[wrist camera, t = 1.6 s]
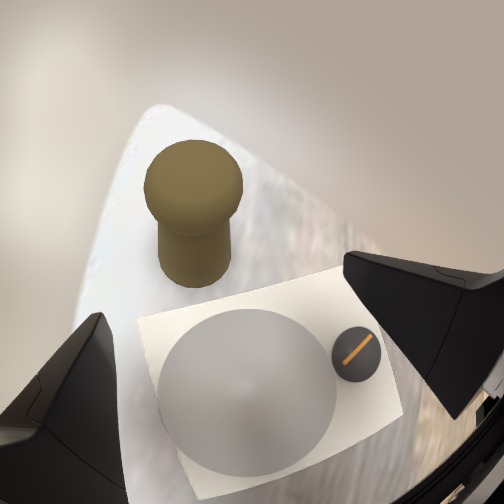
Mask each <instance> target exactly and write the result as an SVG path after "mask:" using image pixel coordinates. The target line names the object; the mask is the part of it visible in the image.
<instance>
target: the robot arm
mask: <svg viewBox="0 0 504 504" xmlns="http://www.w3.org/2000/svg"><path fill="white" fill-rule="evenodd" d="M343 276H344V278H345V280H346V281H347V282H348V284H349V285H350V287H351V288H352V289H353V291H354V292H355V294H356V295H357V297H358V298H359V300H360V301H361V302H362V304H363V305H364V306H365V308H366V309H367V310H368V311H369V312H370V313H371V315H372V316H373V317H374V318H375V319H376V321H377V322H378V323H379V324H380V325H381V327H382V328H383V329H384V330H385V331H386V333H387V334H388V335H389V336H390V338H391V339H392V340H393V341H394V342H395V344H396V345H397V346H398V347H399V349H400V350H401V351H402V352H403V354H404V355H405V356H406V357H407V359H408V360H409V361H410V362H411V364H412V365H413V366H414V368H415V369H416V370H417V371H418V373H419V374H420V375H421V377H422V378H423V379H424V380H425V382H426V383H427V385H428V386H429V387H430V389H431V390H432V391H433V393H434V394H435V395H436V397H437V398H438V399H439V401H440V402H441V403H442V405H443V406H444V407H445V409H446V410H447V412H448V413H449V414H450V416H451V417H452V418H453V419H454V420H456V419H457V418H458V417H459V416H460V415H461V414H462V413H463V412H464V411H465V410H466V409H467V408H468V406H469V405H470V404H471V403H472V402H473V401H474V400H475V399H476V398H477V397H478V396H479V394H480V393H481V392H482V391H483V390H484V391H485V392H486V393H487V394H488V395H489V396H488V397H487V398H486V400H485V401H484V402H483V403H482V405H481V406H480V407H479V408H478V410H477V411H476V429H475V430H474V431H473V432H472V433H471V434H470V435H469V437H468V438H467V439H466V440H465V441H464V442H463V443H462V444H461V445H460V446H459V447H458V448H457V449H456V450H455V451H454V452H453V453H452V454H451V455H450V456H449V457H448V458H447V459H446V460H444V461H443V462H442V463H441V464H440V465H439V466H438V467H437V468H435V469H434V470H433V471H432V472H431V473H430V474H428V475H427V476H426V477H425V478H424V479H422V480H421V481H420V482H419V483H417V484H416V485H415V486H413V487H412V488H411V489H410V490H408V491H407V492H405V493H404V494H403V495H401V496H400V497H398V498H397V499H396V500H394V501H393V502H391V503H390V504H440V503H441V502H442V501H443V500H444V499H445V498H446V497H448V496H449V495H450V494H451V493H452V492H453V491H454V490H455V489H456V488H457V487H458V486H459V485H460V484H462V485H463V486H464V487H465V488H463V489H462V490H461V491H459V492H458V493H457V494H456V495H455V496H456V498H455V499H454V500H453V501H451V502H450V503H448V504H504V269H503V270H502V271H499V272H497V273H494V274H483V273H476V272H470V271H463V270H457V269H451V268H445V267H440V266H434V265H429V264H424V263H419V262H414V261H408V260H403V259H398V258H392V257H387V256H381V255H376V254H370V253H365V252H359V251H351V252H347V253H345V255H344V261H343ZM0 504H129V502H128V497H127V492H126V487H125V481H124V474H123V467H122V459H121V451H120V441H119V428H118V412H117V377H116V365H115V356H114V345H113V335H112V332H111V329H110V327H109V325H108V323H107V320H106V318H105V316H104V314H103V313H102V312H98V313H93V314H91V315H90V316H89V317H88V318H87V319H86V320H85V321H84V322H83V323H82V324H81V325H80V326H79V327H78V328H77V329H76V330H75V332H74V333H73V334H72V335H71V336H70V337H69V338H68V339H67V340H66V341H65V342H64V343H63V345H62V346H61V347H60V348H59V349H58V350H57V351H56V352H55V354H54V355H53V356H52V357H51V358H50V359H49V360H48V361H47V362H46V364H45V365H44V366H43V367H42V368H41V369H40V371H39V372H38V374H37V375H35V376H34V378H33V379H32V380H31V381H30V383H29V384H28V385H27V386H26V387H25V388H24V389H23V391H22V392H21V393H20V394H19V395H18V396H17V397H16V398H15V399H14V400H13V401H12V403H11V404H10V405H9V406H8V407H7V408H6V409H5V410H4V411H3V412H2V413H1V414H0Z"/></svg>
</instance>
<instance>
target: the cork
mask: <svg viewBox="0 0 504 504" xmlns="http://www.w3.org/2000/svg"><path fill="white" fill-rule="evenodd" d="M144 194H145V199H146V203H147V207H148V209H149V210H150V212H151V213H152V215H153V216H154V218H155V219H156V220H157V221H158V257H159V261H160V265H161V268H162V269H163V271H164V272H165V274H166V275H167V277H168V278H170V279H171V280H172V281H174V282H175V283H176V284H179V285H182V286H185V287H187V288H201V287H204V286H208V285H211V284H212V283H214V282H215V281H217V280H218V279H220V278H221V277H222V275H223V274H224V273H225V272H226V270H227V269H228V266H229V263H230V260H231V242H230V223H229V219H230V218H231V216H232V215H233V214H234V213H235V212H236V211H237V208H238V205H239V203H240V200H241V197H242V194H243V179H242V173H241V171H240V168H239V166H238V164H237V162H236V161H235V159H234V158H233V157H232V156H231V155H230V154H229V153H228V152H227V151H226V150H225V149H224V148H222V147H220V146H219V145H217V144H215V143H211V142H208V141H204V140H186V141H181V142H177V143H175V144H173V145H171V146H169V147H166V148H165V149H164V150H163V151H162V152H160V153H159V154H158V155H157V156H156V157H155V158H154V160H153V161H152V163H151V165H150V166H149V168H148V169H147V173H146V177H145V182H144Z"/></svg>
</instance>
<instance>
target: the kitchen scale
mask: <svg viewBox="0 0 504 504" xmlns="http://www.w3.org/2000/svg"><path fill="white" fill-rule="evenodd" d="M136 321H137V325H138V330H139V334H140V339H141V343H142V347H143V351H144V355H145V359H146V362H147V366H148V370H149V373H150V377H151V380H152V384H153V387H154V390H155V393H156V397H157V400H158V407H159V412H160V416H161V419H162V422H163V424H164V427H165V429H166V431H167V433H168V434H169V436H170V438H171V439H172V442H173V444H174V447H175V449H176V452H177V454H178V457H179V459H180V461H181V464H182V466H183V468H184V471H185V473H186V475H187V477H188V479H189V482H190V484H191V486H192V488H193V490H194V492H195V494H196V496H197V498H198V500H202V499H207V498H212V497H217V496H221V495H225V494H229V493H233V492H237V491H241V490H245V489H248V488H252V487H255V486H258V485H261V484H264V483H267V482H270V481H273V480H276V479H279V478H282V477H284V476H287V475H290V474H292V473H295V472H297V471H300V470H302V469H305V468H307V467H309V466H312V465H314V464H316V463H318V462H321V461H323V460H325V459H327V458H329V457H331V456H333V455H335V454H337V453H339V452H341V451H343V450H345V449H347V448H349V447H351V446H353V445H354V444H356V443H358V442H360V441H362V440H363V439H365V438H367V437H368V436H370V435H372V434H373V433H375V432H377V431H378V430H380V429H382V428H383V427H385V426H386V425H388V424H389V423H391V422H392V421H394V420H395V419H397V418H398V417H400V416H401V415H403V411H402V407H401V403H400V399H399V394H398V391H397V387H396V383H395V379H394V375H393V372H392V368H391V365H390V361H389V358H388V354H387V351H386V348H385V344H384V341H383V338H382V335H381V332H380V329H379V325H378V322H377V321H376V319H375V318H374V317H373V316H372V315H371V313H370V312H369V311H368V310H367V309H366V308H365V306H364V305H363V304H362V302H361V301H360V300H359V298H358V297H357V295H356V294H355V292H354V291H353V289H352V288H351V287H350V285H349V284H348V282H347V281H346V280H345V278H344V276H343V265H342V266H338V267H335V268H332V269H328V270H325V271H321V272H318V273H314V274H311V275H307V276H304V277H300V278H296V279H293V280H289V281H286V282H282V283H278V284H275V285H271V286H267V287H263V288H260V289H256V290H252V291H248V292H244V293H240V294H236V295H232V296H228V297H224V298H220V299H216V300H212V301H208V302H204V303H200V304H196V305H192V306H187V307H183V308H179V309H174V310H170V311H166V312H161V313H157V314H152V315H148V316H143V317H138V318H136Z"/></svg>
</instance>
